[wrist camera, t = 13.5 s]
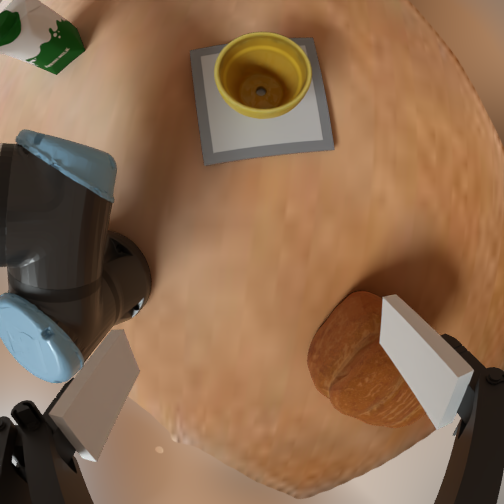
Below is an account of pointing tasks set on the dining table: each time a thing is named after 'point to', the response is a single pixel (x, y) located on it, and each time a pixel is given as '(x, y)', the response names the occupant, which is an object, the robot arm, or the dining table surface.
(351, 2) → the dining table surface
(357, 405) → the bread
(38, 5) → the milk carton
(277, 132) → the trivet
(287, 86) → the plant pot
